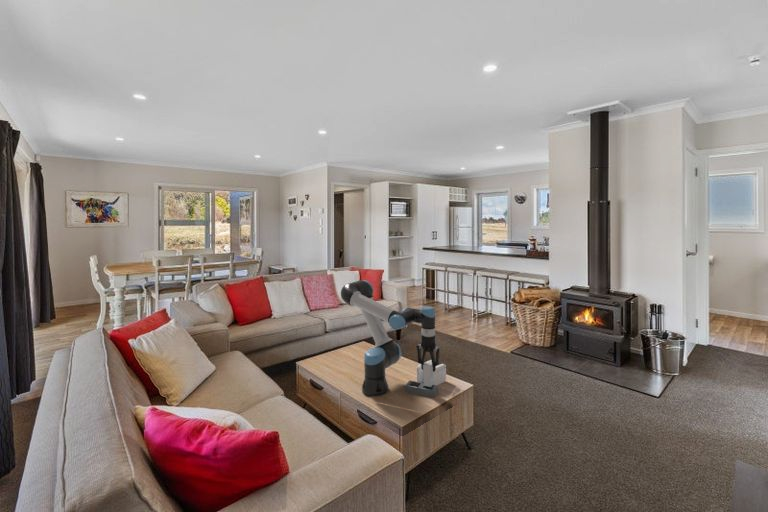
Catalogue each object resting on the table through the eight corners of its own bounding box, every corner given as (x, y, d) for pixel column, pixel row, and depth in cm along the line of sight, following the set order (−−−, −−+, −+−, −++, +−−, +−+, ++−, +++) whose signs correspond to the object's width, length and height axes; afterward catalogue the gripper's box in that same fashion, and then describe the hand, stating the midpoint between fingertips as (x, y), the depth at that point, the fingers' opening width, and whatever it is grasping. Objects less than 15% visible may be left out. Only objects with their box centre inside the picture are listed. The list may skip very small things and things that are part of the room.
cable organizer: (433, 376, 227) (433, 358, 226) (446, 382, 219) (447, 363, 218) (416, 384, 217) (416, 365, 216) (430, 390, 209) (430, 371, 208)
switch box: (405, 392, 207) (405, 385, 207) (409, 387, 214) (409, 380, 213) (434, 398, 200) (434, 390, 200) (438, 392, 207) (438, 385, 206)
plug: (424, 385, 204) (423, 364, 202) (426, 382, 208) (426, 361, 207) (431, 386, 202) (430, 365, 201) (433, 383, 206) (433, 362, 205)
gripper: (411, 335, 202) (411, 376, 204) (441, 339, 195) (441, 381, 197) (415, 331, 208) (416, 370, 211) (445, 334, 201) (445, 375, 204)
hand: (428, 375), depth 204 cm, fingers closed on plug, 4 cm apart
